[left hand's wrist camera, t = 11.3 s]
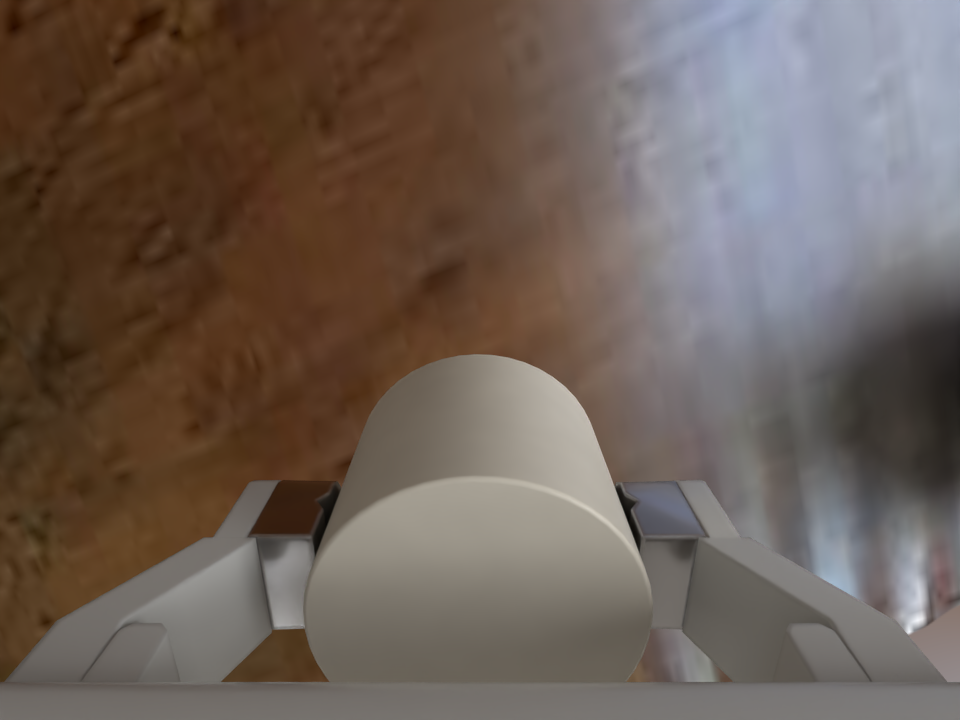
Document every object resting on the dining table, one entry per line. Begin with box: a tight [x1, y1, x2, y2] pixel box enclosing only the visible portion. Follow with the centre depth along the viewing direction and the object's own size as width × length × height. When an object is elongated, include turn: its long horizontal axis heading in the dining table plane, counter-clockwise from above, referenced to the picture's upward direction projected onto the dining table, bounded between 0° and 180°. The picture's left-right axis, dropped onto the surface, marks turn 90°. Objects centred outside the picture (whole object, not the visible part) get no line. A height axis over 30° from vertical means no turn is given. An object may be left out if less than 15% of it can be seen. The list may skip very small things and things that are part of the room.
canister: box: [303, 354, 653, 682], centre depth 10 cm, size 5×5×4 cm
